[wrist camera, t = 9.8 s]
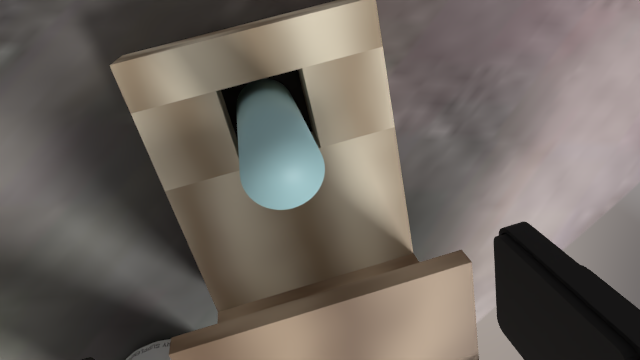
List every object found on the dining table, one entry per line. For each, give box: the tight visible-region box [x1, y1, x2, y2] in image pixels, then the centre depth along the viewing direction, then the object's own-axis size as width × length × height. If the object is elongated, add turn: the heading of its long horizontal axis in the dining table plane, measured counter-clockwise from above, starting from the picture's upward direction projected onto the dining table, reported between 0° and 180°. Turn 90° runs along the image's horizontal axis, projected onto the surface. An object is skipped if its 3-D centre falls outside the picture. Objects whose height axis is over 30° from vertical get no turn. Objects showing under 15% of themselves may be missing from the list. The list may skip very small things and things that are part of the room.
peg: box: [236, 78, 325, 210], centre depth 23 cm, size 4×4×10 cm
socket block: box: [110, 0, 479, 360], centre depth 24 cm, size 14×18×12 cm
